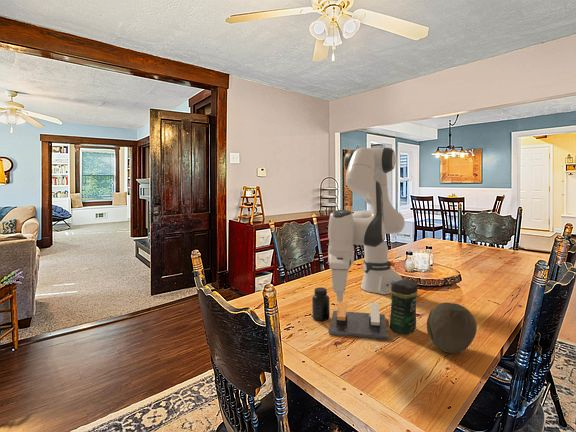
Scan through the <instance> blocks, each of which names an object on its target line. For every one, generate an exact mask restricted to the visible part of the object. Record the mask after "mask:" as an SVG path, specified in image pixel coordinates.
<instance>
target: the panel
mask: <svg viewBox="0 0 576 432" xmlns="http://www.w3.org/2000/svg"><path fill="white" fill-rule="evenodd" d="M336 312H338V310H333V312H332V314H331V315H332V317H331V321H330V324H329V329H328V335H329V336H335V337H336V336H337V337H347V338H348V337H349V338H360V339H369V340H370V339H371V340H380V341H388V339H389V337H388V336H389V335H388V330H387V329H388V328H387V323H386V315H385V314H384V313H383V314H381V313H379V315H381V318H380V326H378V325H371V317H369V314H371V312H370V313H368V312H357V311H356V312H355V311H346V313H348V315H346V319H345V321H343V320H337V315H336Z"/></svg>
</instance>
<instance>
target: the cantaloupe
mask: <svg viewBox="0 0 576 432" xmlns="http://www.w3.org/2000/svg"><path fill="white" fill-rule="evenodd" d="M477 330H478V325H477V321H476V318H475V317H474V315H473V314H472V312H471V311H470V310H469V309H468V308H467V307H466V306H464V305H461V304H459V303H454V302H449V301H448V302H446V301H445V302H441V303H438V304H436V305H435V306H434V307H433V308H432V309H431V310H430V312H429V314H428V316H427V319H426V332H427V336H428V338H429V339H430V341H431V343H433V345H434V346H435V347H436V348H438V349H439V350H442V351H444V352H445V353H448V354H458V353H460V352H463V351H465V350H466V349H468V347H470V345H471V344H472V343H473V341H474V339H475V338H476V334H477Z"/></svg>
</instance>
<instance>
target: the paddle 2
mask: <svg viewBox="0 0 576 432" xmlns="http://www.w3.org/2000/svg"><path fill="white" fill-rule="evenodd" d="M370 313H371V314H369V317H371V325H378V326H380V318H381V315H379V314H380V303H379V302H370Z"/></svg>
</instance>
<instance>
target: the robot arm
mask: <svg viewBox="0 0 576 432" xmlns="http://www.w3.org/2000/svg"><path fill="white" fill-rule="evenodd" d="M344 155H345V156H344V159H343V161H344V163H343V164H344V168H345V170H346V173H345V184H346V186H347V188H348V189H349V190H350V191H351V192H352V193H354V194H356V195H358V196H361V197H363V199H364V201H365V202H366V203H367V204H368V205H370V209H371V210H367V209H365V210H364V209H363V210H356V211H354V212H352V211H350V210H348V209H337V210H334V211H331V212H330V215H329V220H328V229H327V235H328V236H327V237H328V241H329V242H328V248H327V253H328V254H327V256H328V257H327V258H328V259H327V262H328V265H329V266H328V267H329V269H330V271H331V283H332V291H333V292H334V293H336V298H337V299H336V301H337V302H338V303H339V302H344V301H343V299H344V296H343V295H344V293H346V285H347V278H348V272H349V270H350V268H351V267H352V265H353V264H354V263H355V246H354V245H359V246H360V245H362V246H363V247H364V249H363V250H364V259H363V277H362V280H361V281H362V282H361V285H360V288H361V289H362V290H363V291H364V292H369V293H374V294H380V295H385V296H386V295H389V294H391V285H392V283H394V282H396V281H399V280H402V279H403V277H402V276H401V274H399V273H398V272H397V271H395V270H394V269H393V268H394V267H395V266H396V263H395V262H393V261H390V260H388V257H389V256H388V255H389V247H388V244H387V243H386V242H385V239H386V234H387V235H391V234H399V233H401V232H402V231H403V229H404V228H405V226H406V225H405V223H406V222H405V218H404V215H403V214H402V213H400V212H399V211H398V210H397V209H396V208H394V206H393V205H392V203H391V201H390V198H389V191H388V190H389V189H388V176H387V174H388V173H389V172H392V171H393V170H395V166H396V165H397V164H396V163H397V155H396V153H395V150H394V149H392V148H390V147H368V148H367V147H360V148H357V149H352V150H349V151H347V153H345V154H344Z"/></svg>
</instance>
